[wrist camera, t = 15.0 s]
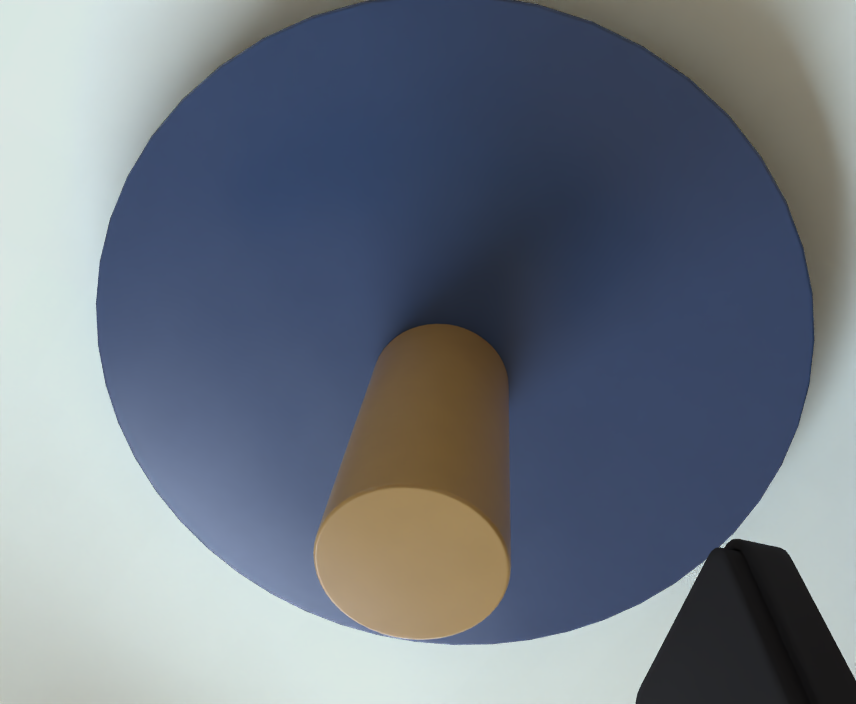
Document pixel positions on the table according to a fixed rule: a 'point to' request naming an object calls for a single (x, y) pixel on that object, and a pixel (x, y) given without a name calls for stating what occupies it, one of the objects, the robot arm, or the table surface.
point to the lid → (455, 319)
